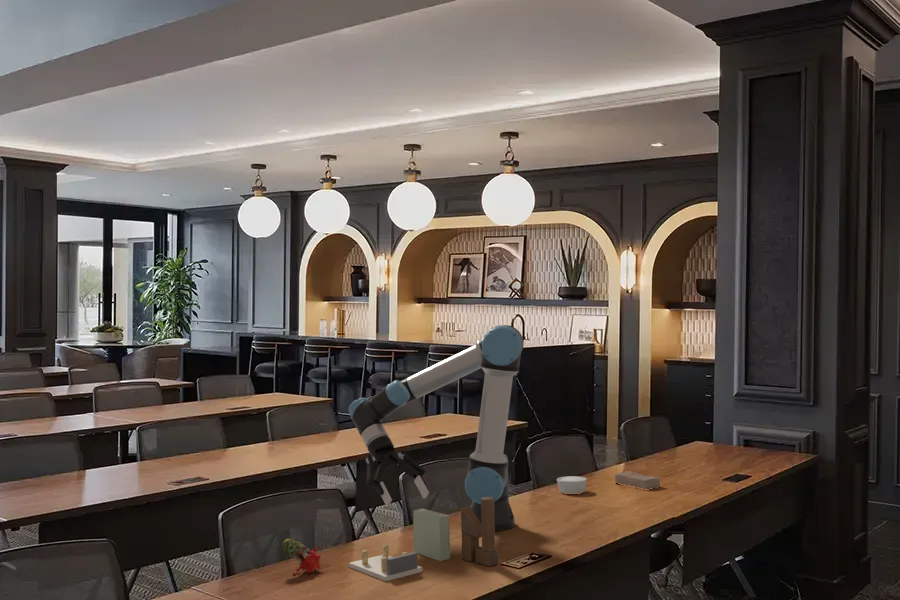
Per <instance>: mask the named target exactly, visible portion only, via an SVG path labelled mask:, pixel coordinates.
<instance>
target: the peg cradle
mask: <svg viewBox="0 0 900 600" xmlns="http://www.w3.org/2000/svg"><path fill="white" fill-rule="evenodd" d="M389 553H390V552H389V545H387V544H386V545H385V544H384V545H382V554H381V555H376V556H371V557H369V551H368V550H367V549H364V550H361V559H360V560H355V561H351V562H348V568H350V569H353V570H355V571H356V572H360V573H363V574H366V575H368V576H371V577H372V578H373V577H374V578H376V579H378V580H380V581H384V582H388V581H392V580H396V579H399V578H403V577H407V576H411V575H416V574H419V573H422V572H423V566H420V565H418V553H415V552H414V551H413V552H410V553H409V552H408V551H403V552H402V553H401V555H398V556H391V555H389Z"/></svg>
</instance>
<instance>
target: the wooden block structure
mask: <svg viewBox="0 0 900 600" xmlns="http://www.w3.org/2000/svg"><path fill="white" fill-rule="evenodd" d="M460 518H461V519H460V520H461V523H460V524H461V527H460V529H461V558H462V560H464V561H469V562H473V561H475V563H477V564H480V565H484V566H487V567H492V566H496V565H498V564H499V551H498V550H496V534H495V533H496V531H495V520H494V498H492V497H483V498H481V522H482V524H481V523H480V521H479V520H478V518H477V517H476V515H475V513H474V512H473V510H472V509H471V506H465V507H462V508H460ZM480 538H481V546H480Z"/></svg>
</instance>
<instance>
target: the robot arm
mask: <svg viewBox="0 0 900 600" xmlns="http://www.w3.org/2000/svg"><path fill="white" fill-rule="evenodd" d="M524 342H525V341H524V337H523V335H522V333H521V332H520V331H519V330H518V328H516V327H514V326H512V325H509V324H507V325H506V324H504V325H503V324H501V325H496V326H494V327H492V328H490V329H489V330H487V332H486V333H485V334H484V336H483V337H482V338H479V339H478V340H476V343H475V344H474V345H472V346H470V347H468V348H465V349H464V350H462V351H460V352H458V353H456V354H454V355H451V356H450V357H448V358H445V359H443V360H441V361H439V362H437V363H435V364H433V365H431V366H429V367H426V368H425V369H423V370H420V371H419V372H416V373H414V374H413V375H409V377H406V378H404V379H402V380H398V379H395V380H393V381H392V382H391V383H388V384H387V385H386V386H385V387H384V388H383V389H381V390H380V391H379V392H378V393H376V394H375V395H373V397H371V398H367V397H359V398H358V399H355V400H354V401H352V403H350V405H349V406H348V413H349V416H350V418H351V421H352V423H353V424H354V426H355V428H356V430H357V431H358V434H359V435H360V437H361V439H362V442H363V443H364V445H365V447H366V448H367V451H368V452H369V454H368V455H367V457H366V459H365V460H364V462H365V465H366V486H367V487H371V488H372V489H373V490H376V493H377V494H378V495H379V496H380V497H381V498H382V500H383V502H384V504H385V506H386V507H388V506H389V505H390V504H391V503H392V501H393V499H392V497H391V495H390V493H389V491H388V489H387V487H386V484H385V483H384V481H381V477H382V475H383V472H384V470H388V469H396V470H400V471H401V472H402V473H405V474H406V475H408V476H409V477H411V478H413V479H414V481H413V482H414V484H415V485H416V488H417V489H418V492H419V493H420V495H421V497H422V499H424V500H425V499H426V498H427V497H428V495H430V491H429V489H428V488H427V487H426V485H427V483H426V481H425V480H424V478H423V477H424V474H425V473H426V470H425V469H424V468H423V467H422V466H421V465H420V464H419V463H417V462H416V461H415V460H414V459H413V458H411V456H410V455H408V454H407V452H406V451H405V449H402V450H401V451H400V452H397V451H396V450H395V446H394V444H393V442H392V440H391V438H390V436H389V434H388V433H387V431H386V428H385V426H384V425H383V423H382V421H383V420H384V419H385V418H387V417H388V416H389V415H390V414H392V413H394V412H395V411H396V410H398V409H399V408H401V407H403V406H405V405H407V404H409V403H411V402H413V401H416V400H417V399H419V398H421V397H424V396H425V395H427V394H430V393H431V392H434V391H436V390H439V389H440V388H443V387H444V386H448V385H449V384H450V383H453V382H455V381H457V380H460V379H461V378H463V377H465V376H467V375H470V374H473V373H474V372H476V371H478V370H480V369H481V370H482V371H483V372H484V378H483V386H482V396H481V403H480V404H481V405H480V410H479V411H480V412H479V417H478V419H479V420H478V427H477V437H476V443H475V450H474V451H473V452H472V453H470V454H469V460H468V465H467V467H468V468H467V474H466V476H465V479H464V489H465V492H466V494H467V496H468V498H469V499H470V500H471V501H472V502H471V504H470V505H471V506H470V507H471V509H472V510H473V512H474V513H475V515H476V517H477V518H478V520H479V521H480V523H481V524H482V522H481V498H483V497H492V498H494V520H495V532H497V531H506V530H509V529H512V528H514V527H515V525H516V523H515V522H516V521H515V520H516V519H515V516H514V513H513V509H512V507H511V504H510V500H509V498H510V497H509V460H508V456H507V454H504V451H505V444H506V443H505V442H506V435H507V429H508V418H509V411H510V403H511V396H512V395H511V394H512V387H513V378H514V376H516V375H517V374H518V373H519V370H520V365H521V364H520V363H521V356H522V355H521V354H522V352H523V350H524ZM374 463H375V464H376V465H378V466H377V469H376V473H375V471H374V469H375V467H374ZM374 474H375V475H374Z"/></svg>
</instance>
